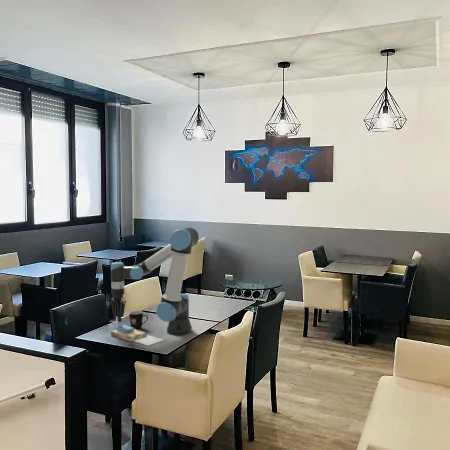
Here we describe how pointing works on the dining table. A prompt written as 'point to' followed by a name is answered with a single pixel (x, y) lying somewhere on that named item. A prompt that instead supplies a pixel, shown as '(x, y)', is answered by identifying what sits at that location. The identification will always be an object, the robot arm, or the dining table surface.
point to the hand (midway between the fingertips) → (118, 326)
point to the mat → (148, 340)
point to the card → (125, 329)
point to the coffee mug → (136, 319)
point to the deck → (129, 335)
